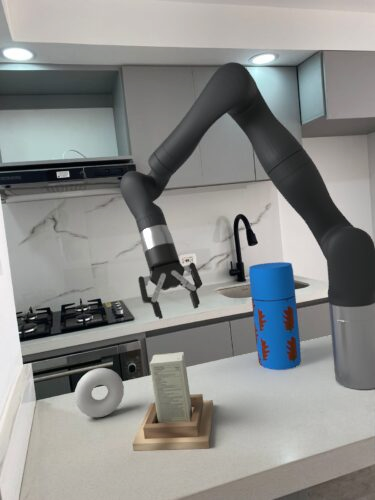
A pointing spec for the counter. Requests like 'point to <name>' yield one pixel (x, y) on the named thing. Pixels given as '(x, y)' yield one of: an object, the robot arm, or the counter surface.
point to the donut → (104, 405)
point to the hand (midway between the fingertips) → (179, 313)
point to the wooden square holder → (176, 429)
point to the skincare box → (171, 388)
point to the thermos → (275, 315)
